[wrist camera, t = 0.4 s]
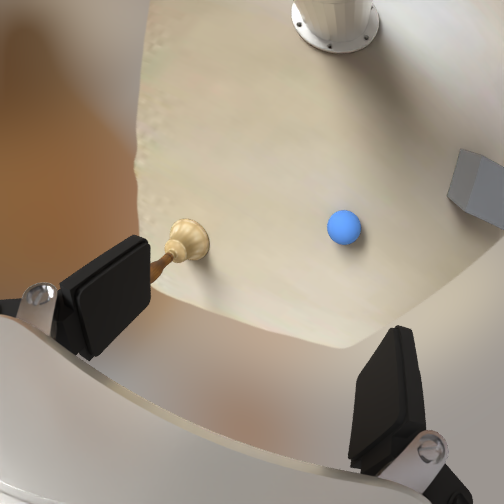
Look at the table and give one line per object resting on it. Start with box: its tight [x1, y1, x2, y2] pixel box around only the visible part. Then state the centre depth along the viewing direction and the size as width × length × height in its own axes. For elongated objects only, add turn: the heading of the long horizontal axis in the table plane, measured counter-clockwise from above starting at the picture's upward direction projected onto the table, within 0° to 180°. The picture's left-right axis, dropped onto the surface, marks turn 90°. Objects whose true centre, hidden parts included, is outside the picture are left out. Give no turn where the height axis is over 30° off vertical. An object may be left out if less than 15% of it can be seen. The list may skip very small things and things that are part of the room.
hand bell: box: [150, 219, 209, 284], centre depth 46 cm, size 8×8×16 cm
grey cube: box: [447, 149, 504, 230], centre depth 29 cm, size 8×8×8 cm
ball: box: [327, 210, 361, 245], centre depth 40 cm, size 5×5×5 cm
